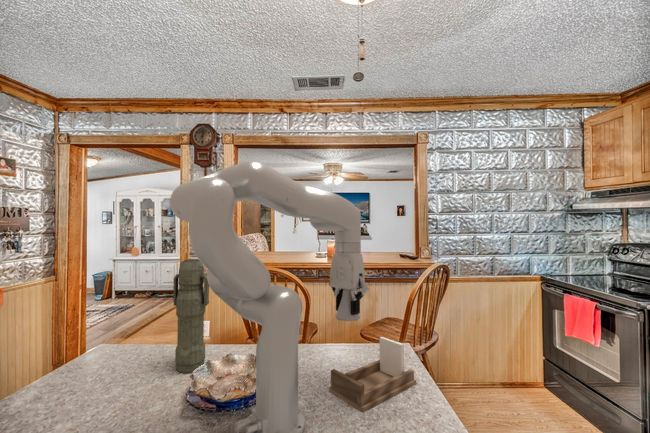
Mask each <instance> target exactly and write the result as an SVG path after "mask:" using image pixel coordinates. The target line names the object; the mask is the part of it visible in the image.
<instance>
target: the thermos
mask: <svg viewBox="0 0 650 433" xmlns="http://www.w3.org/2000/svg"><path fill="white" fill-rule="evenodd" d="M204 267H205V266H204V265H203V263H202V262H201V261H200V260H199V259H198V258H197V259H195V258H194V259H190V258H189V259H184V260H182V261H181V263H180V265H179V268H178V273H177V274H176V275H174V277H173V296H172V297H173V306H175V311H176V312H175V315H176V317H177V338H176V339H177V340H176V341H177V345H176V347H175V351H174V352H175V355H174V356H175V359H174V360H175V372H176V371H177V372H179V373H178V374H180V373H183V374H182V375H188V374H193V373H192V372H193V371H194V370H195V369H196V368H198V367H199V366H201V365H203V364H204V363H205V360H206V344H205V338H204V337H205V336H204V335H205V334H204V332H205V329H204V327H205V322H204V321H205V320H204V318H205V313H206V307H207V306H208V305H209V303H210V297H209V296H210V286H209V284H208V281H207V273H206V274H205V272H204V271H205V268H204ZM177 372H176V373H177Z"/></svg>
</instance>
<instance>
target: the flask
mask: <svg viewBox="0 0 650 433" xmlns="http://www.w3.org/2000/svg"><path fill="white" fill-rule="evenodd" d="M351 300H353V299H352V295H351V291H350V290H346V289H343V295H342V299H341V302H340V305H339V308H338V311H336V313H335V318H336V321H343V322H355V321H356V322H357V321H358V320H360V319H361V316H360V313H359V314H356V315H351Z"/></svg>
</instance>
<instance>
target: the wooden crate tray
mask: <svg viewBox="0 0 650 433" xmlns="http://www.w3.org/2000/svg"><path fill="white" fill-rule="evenodd" d="M416 385H417V379H415V370H413V369H411V368H410V369H408V370H404V372H403V373H401V374H399V375H397V376H395V377H393V376H391V375H389V374H386V373H384V372H382V371H380V359H378V360H376V361H373V362H371V363H368V364H366V365H363V366H361V367H359V368H356V369H354V370H351V371H348V372H346V373H343V372H341V371H339V370H337V369H335V368H332V369H331V370H330V387H329V388H328V392H329V393H331V394H332V395H334V396H336V397H337V398H339V399H341V400H342V401H344V402H345V403H347V404H349V405H350V406H352V407H353V408H355V409H357V410H359V411H360V412H362V413H365V412H367V411H369V410H371V409H372V408H374V407H376V406H378V405H380V404H382V403H384V402H386V401H388V400H389V399H391V398H393V397H396V396H397V395H398V394H401V393H402V392H404V391H406V390H408V389H410V388H412V387H414V386H416Z"/></svg>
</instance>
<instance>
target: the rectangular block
mask: <svg viewBox="0 0 650 433" xmlns="http://www.w3.org/2000/svg"><path fill="white" fill-rule="evenodd" d="M378 340H379V360H380V371H382V372H384V373H386V374H389V375H391V376H393V377H395V376H397V375H399V374H401V373H403V372H405V350H404V349H405V344H404V343H402V342H399V341H396V340H392V339H389V338H387V337H384V336H380V337H379V339H378Z"/></svg>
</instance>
